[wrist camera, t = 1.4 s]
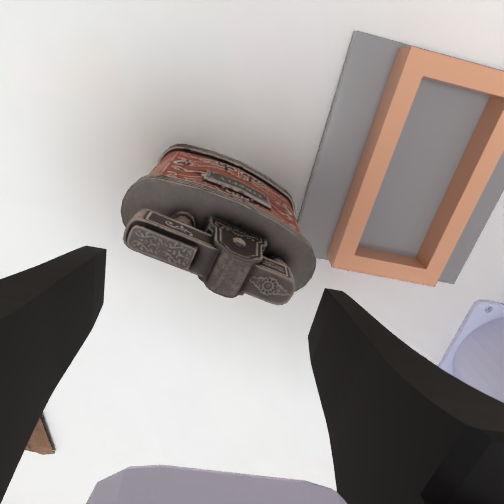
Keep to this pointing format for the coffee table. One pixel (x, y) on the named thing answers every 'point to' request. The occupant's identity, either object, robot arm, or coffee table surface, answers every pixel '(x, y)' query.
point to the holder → (406, 163)
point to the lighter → (219, 225)
